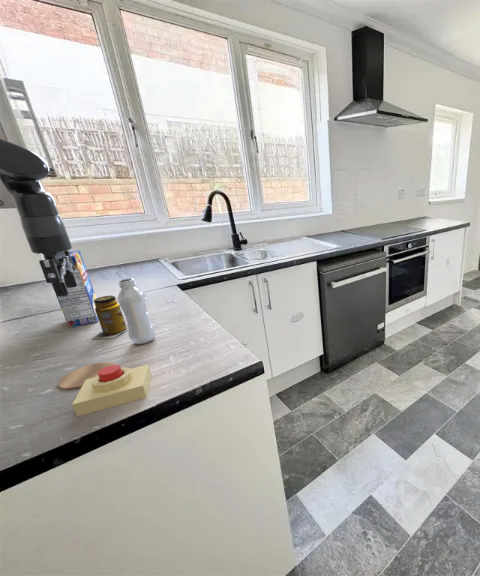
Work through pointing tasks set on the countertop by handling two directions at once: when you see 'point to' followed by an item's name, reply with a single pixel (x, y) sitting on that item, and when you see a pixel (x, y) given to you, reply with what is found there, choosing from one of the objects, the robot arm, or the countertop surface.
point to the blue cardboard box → (79, 296)
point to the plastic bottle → (135, 312)
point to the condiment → (109, 317)
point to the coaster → (81, 376)
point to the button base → (112, 390)
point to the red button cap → (110, 373)
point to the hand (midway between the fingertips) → (68, 291)
